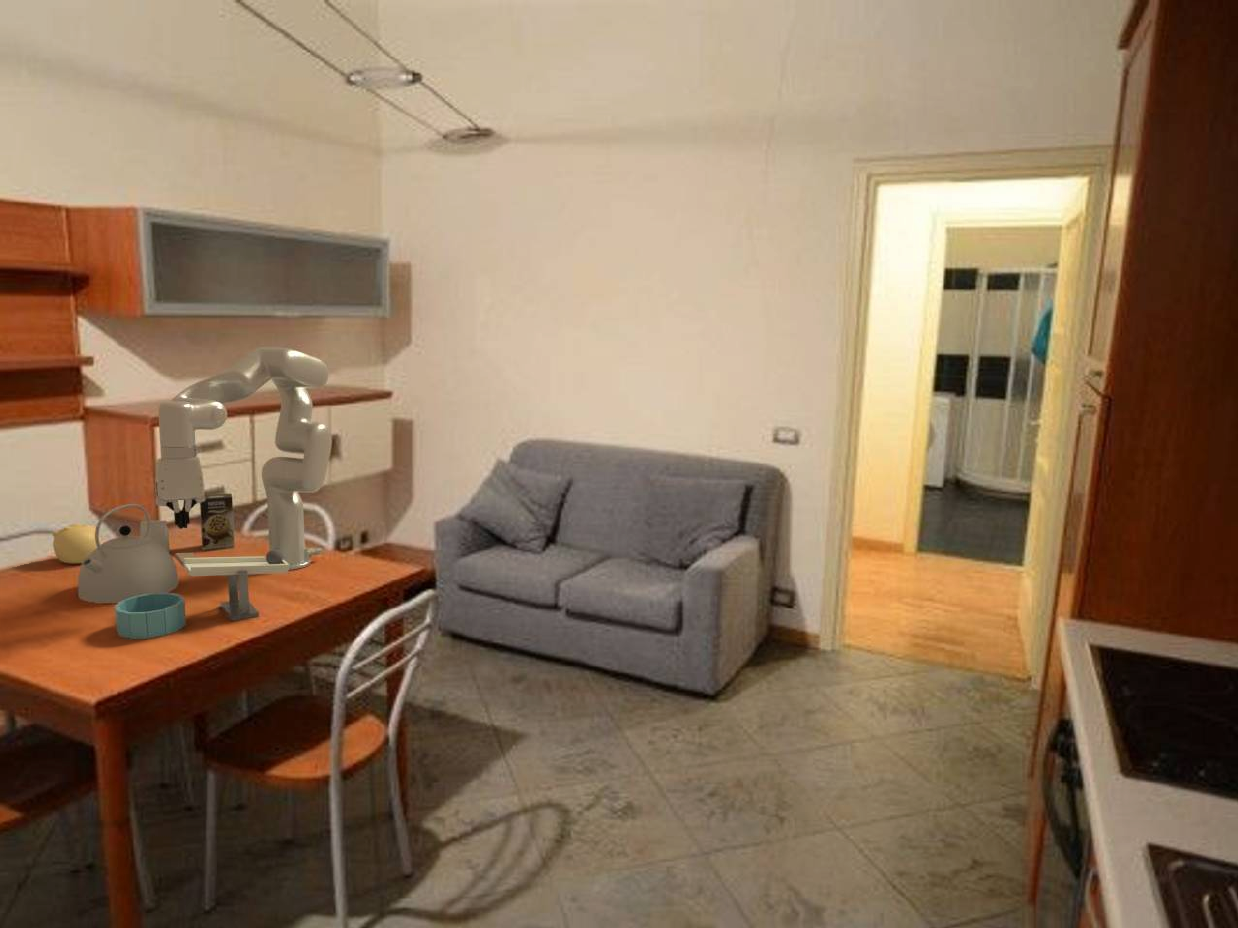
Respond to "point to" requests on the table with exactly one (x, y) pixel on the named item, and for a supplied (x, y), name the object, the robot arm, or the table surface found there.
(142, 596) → the teal round bowl
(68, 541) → the yellow rounded piece
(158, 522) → the tea bag
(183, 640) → the table surface
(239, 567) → the lever
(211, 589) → the table surface
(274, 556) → the ball
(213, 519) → the dark cardboard box
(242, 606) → the lever stand
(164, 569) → the kettle
